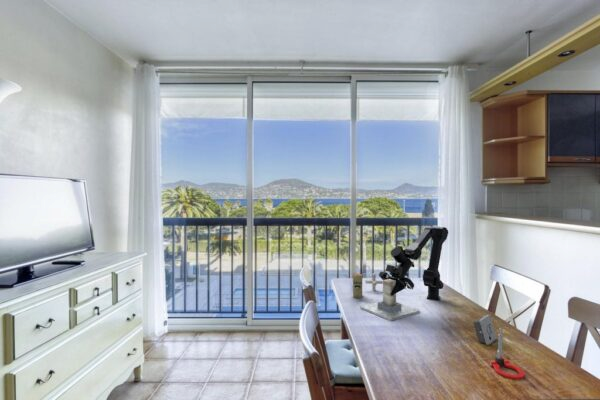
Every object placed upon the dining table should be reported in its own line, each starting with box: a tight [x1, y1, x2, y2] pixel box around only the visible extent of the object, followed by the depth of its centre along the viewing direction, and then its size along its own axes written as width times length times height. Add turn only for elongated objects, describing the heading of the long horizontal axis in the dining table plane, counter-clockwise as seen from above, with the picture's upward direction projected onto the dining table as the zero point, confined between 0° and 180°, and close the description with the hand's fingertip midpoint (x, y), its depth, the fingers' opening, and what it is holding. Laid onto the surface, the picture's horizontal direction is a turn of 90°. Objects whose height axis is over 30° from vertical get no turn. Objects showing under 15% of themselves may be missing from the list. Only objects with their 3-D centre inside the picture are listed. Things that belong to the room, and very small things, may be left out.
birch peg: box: [382, 279, 397, 306], centre depth 166 cm, size 4×4×13 cm
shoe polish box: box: [352, 273, 363, 299], centre depth 189 cm, size 5×5×12 cm
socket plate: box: [359, 300, 421, 322], centre depth 166 cm, size 20×20×4 cm
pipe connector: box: [364, 272, 383, 292], centre depth 200 cm, size 10×10×10 cm
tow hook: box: [488, 327, 526, 380], centre depth 109 cm, size 8×13×9 cm
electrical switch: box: [472, 314, 498, 346], centre depth 133 cm, size 9×5×9 cm, turn 133°
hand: (387, 293), depth 166 cm, fingers closed on birch peg, 4 cm apart
